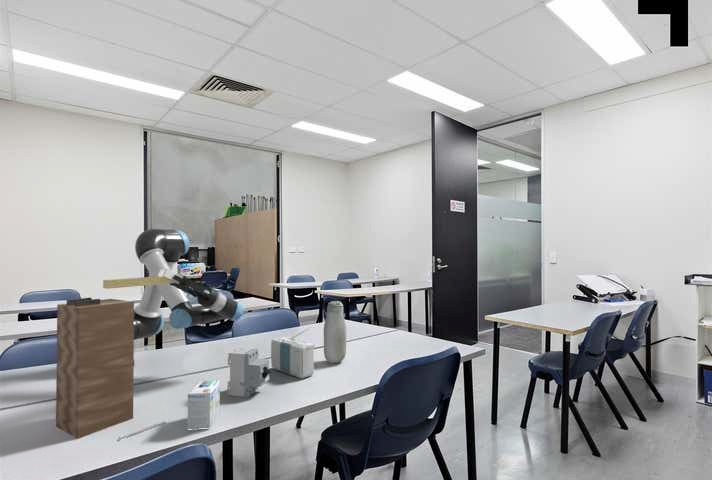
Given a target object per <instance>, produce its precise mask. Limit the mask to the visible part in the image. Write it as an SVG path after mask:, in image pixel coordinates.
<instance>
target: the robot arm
mask: <svg viewBox="0 0 712 480" xmlns="http://www.w3.org/2000/svg"><path fill="white" fill-rule="evenodd" d="M134 244H135V246H134V249H135V254H136V257H137V259H138V260H139V262H140V263H141V264H143V265H144V266H145V268H146V269H147V271H148V277H157V276H164V277H166V278H168V279H170V280H171V281H173V282H175V283H168V284H156V285H145V287H144V290H143V293H142V296H141V299H140V302H139V305H137V306H134V341H137V340H141V339H145V338H146V339H147V338H151V337H153V336H156V335H157V334H159V333H160V332H162V330H163V327H164V324H165V320H164V315H163V314H162V313H163V312H162V310H161V309H160V308H161V305H162V301H163V299H164V301H165V303H166V304H167V307H168V308H169V310H170V314H169V317H168V320H169V324H170V326H171V327H172V328H173V329H175V330H181V329H187V328H189V327H193V326H194V327H195V326H199V325H203V324H208V323H209V324H210V323H211V322H217V321H220V320H224V319H228V320H229V321H232V322H237V321H238V320H240V319H241V318H242V316H243V313H244V306H243V305H242V304H241V303H239V301H236V300H234V299H232V298H230V297H229V296H227V295H225V294H223V292H222V291H218V290H216V289H214V288H213V287H211V286H206V287H205V286H203V285H202V284H199V283H197V282H196V281H194V280H191V279H190V278H187V276H186V275H185V276H184V277H183V278H182V277H181V276H179V275H180V274H177V273H176V272H174V271H173V269H174V266H175V264H177V263H179V261H180V258H181V256H184V255H186V254H187V253H188V252H189V249H190V240H189V239H188V236H187V234H186V233H185V232H183V231H182V230H179V229H173V228H172V229H165V228H164V229H162V228H159V229H158V228H149V229H145V230H144V231H143V232H141V233H140V234H139V235H138V236H137V238H136V240H135V243H134ZM187 295H191V296H192V297H194V298H196V299H197V303H198V304H199V305H196V306H193V305H192V303H191V302H190V300H189V298H188V297H187Z"/></svg>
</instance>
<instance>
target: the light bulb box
mask: <svg viewBox="0 0 712 480" xmlns="http://www.w3.org/2000/svg"><path fill="white" fill-rule="evenodd" d="M220 383H221V381H220V380H205V381H203V380H202V381H201V380H199V381H198V382H197V383H196V385H195V386H193V388H192V389H191V390H190V391H189V392H188V393H187V429H199V428H210V427H211V426H212V427H213V425H214V424H215V422H216V420H217V419H216V418H218V417H219V416H220V410H221V409H220V403H221V399H220V398H221V397H220V392H221V391H220V389H221V388H220V387H221V384H220ZM214 421H215V422H214ZM212 424H213V425H212ZM212 427H211V428H212ZM211 428H210V429H211Z"/></svg>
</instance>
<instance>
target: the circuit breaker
mask: <svg viewBox="0 0 712 480" xmlns="http://www.w3.org/2000/svg"><path fill="white" fill-rule="evenodd" d="M227 354H228V357H227V365H228V366H229V381H227V396H236V397H244V398H245V397H250V396H251V395H252V394H254V393H255V392H256V391H258V389H259V388H261V387H262V386H263V385H264V384H266V383H267V382H268V381H269V380H270V374H271V373H272V369H270V359H269V358H259V348H255V347H253V348H252V347H251V348H250V347H237V348H236V349H234V350H232V351H229V352H228V353H227Z"/></svg>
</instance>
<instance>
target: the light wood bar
mask: <svg viewBox="0 0 712 480" xmlns="http://www.w3.org/2000/svg"><path fill="white" fill-rule="evenodd" d="M178 275H179V276H181V277H182V278H183V277H184V276H186V275H185V274H178ZM168 283H175V282H173V281H171V280H170V279H168V278H166V277H164V276H157V277H149V276H147V277H144V276H143V277H131V278H116V279H104V280H102V288H103V289H117V288H118V289H119V288H121V289H122V288H133V287H141V286H146V285H156V284H168Z"/></svg>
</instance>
